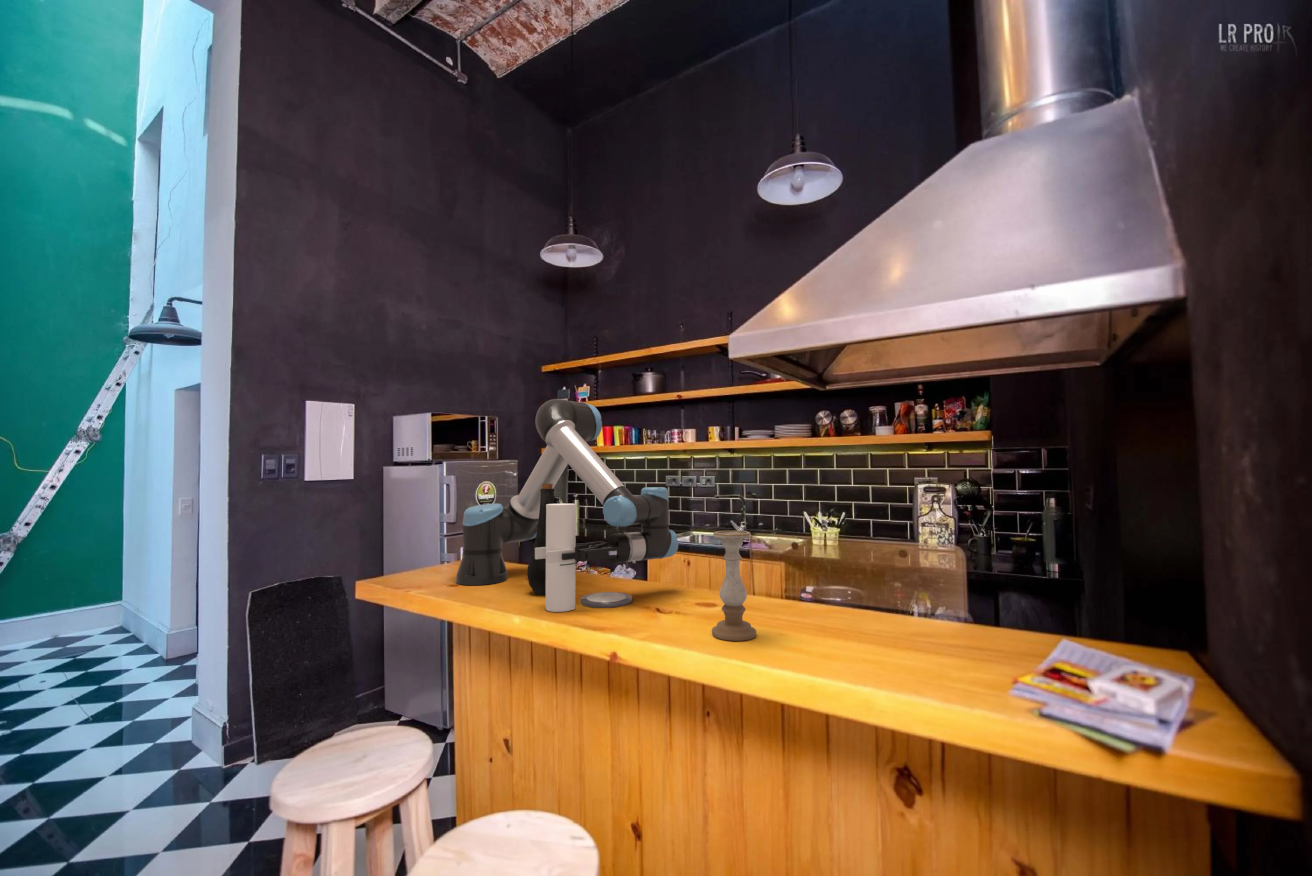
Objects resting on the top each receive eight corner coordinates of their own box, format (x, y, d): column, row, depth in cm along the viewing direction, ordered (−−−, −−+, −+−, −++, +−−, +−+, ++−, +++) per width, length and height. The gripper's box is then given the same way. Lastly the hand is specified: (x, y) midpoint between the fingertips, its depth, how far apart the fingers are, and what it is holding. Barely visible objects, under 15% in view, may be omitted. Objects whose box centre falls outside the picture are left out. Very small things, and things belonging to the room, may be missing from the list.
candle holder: (740, 644, 99) (737, 535, 100) (703, 635, 105) (701, 532, 106) (764, 634, 105) (762, 531, 107) (728, 626, 111) (726, 529, 113)
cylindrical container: (549, 604, 131) (550, 503, 133) (577, 604, 131) (578, 503, 132) (542, 611, 124) (543, 505, 125) (572, 611, 123) (572, 505, 125)
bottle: (570, 588, 150) (570, 483, 152) (560, 597, 139) (560, 484, 142) (534, 588, 151) (535, 483, 153) (521, 596, 140) (522, 484, 143)
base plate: (572, 600, 136) (572, 595, 136) (616, 593, 143) (616, 589, 143) (595, 610, 125) (595, 605, 125) (641, 602, 132) (641, 598, 132)
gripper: (644, 567, 129) (557, 578, 117) (606, 557, 146) (526, 565, 133) (644, 536, 130) (558, 544, 117) (606, 530, 147) (527, 535, 134)
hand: (541, 555), depth 125 cm, fingers closed on cylindrical container, 7 cm apart
